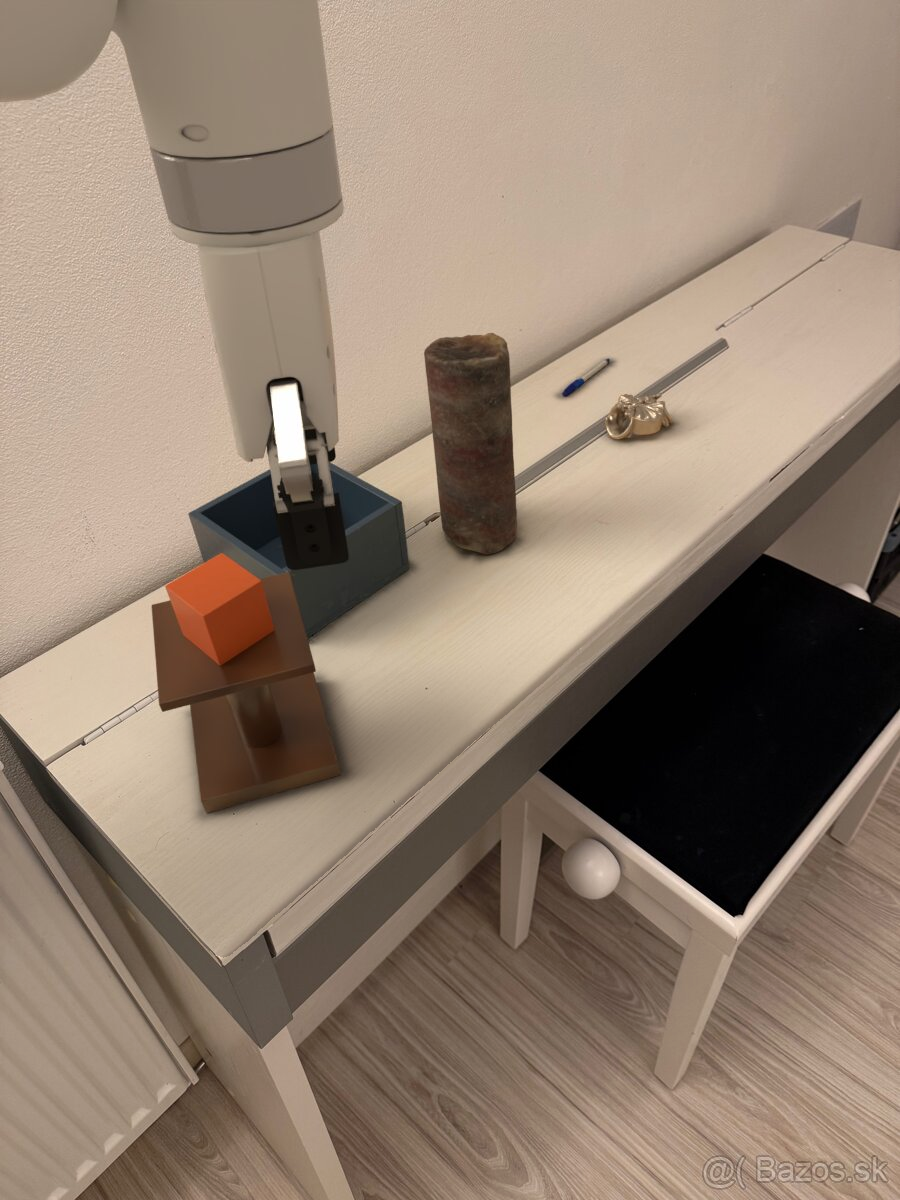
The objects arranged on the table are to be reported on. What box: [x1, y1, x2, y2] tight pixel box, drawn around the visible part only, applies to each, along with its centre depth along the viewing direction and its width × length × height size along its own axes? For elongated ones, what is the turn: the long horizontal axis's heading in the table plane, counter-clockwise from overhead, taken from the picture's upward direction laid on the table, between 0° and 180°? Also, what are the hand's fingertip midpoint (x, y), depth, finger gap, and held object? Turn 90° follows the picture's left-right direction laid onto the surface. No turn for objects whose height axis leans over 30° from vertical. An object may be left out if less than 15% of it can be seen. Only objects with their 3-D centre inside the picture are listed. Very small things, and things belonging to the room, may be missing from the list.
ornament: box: [604, 392, 675, 440], centre depth 96 cm, size 8×7×4 cm
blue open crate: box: [187, 462, 411, 639], centre depth 79 cm, size 14×14×8 cm
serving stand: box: [151, 572, 341, 814], centre depth 63 cm, size 10×10×12 cm
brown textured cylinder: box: [423, 332, 518, 555], centre depth 78 cm, size 8×7×20 cm
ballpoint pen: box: [561, 358, 611, 397], centre depth 106 cm, size 10×1×1 cm, turn 143°
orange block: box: [164, 553, 275, 666], centre depth 57 cm, size 4×4×4 cm
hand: (313, 509), depth 48 cm, fingers open, 9 cm apart
